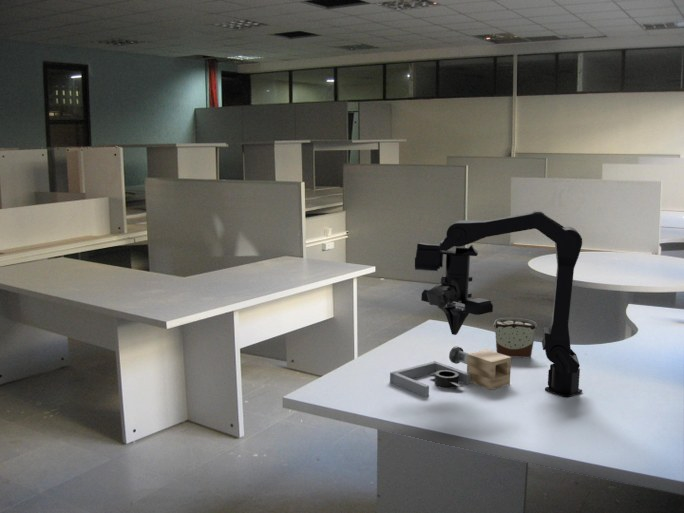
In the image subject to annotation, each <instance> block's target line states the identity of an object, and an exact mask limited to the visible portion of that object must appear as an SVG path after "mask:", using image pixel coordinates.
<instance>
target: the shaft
mask: <svg viewBox="0 0 684 513" xmlns="http://www.w3.org/2000/svg"><path fill="white" fill-rule="evenodd" d="M463 349H464V348H462V347H460V346H458V345H457V346H453V347H452V348H451V349H450V350H449V356H448V358H449V360H450V362H451V363H453V364H454V365H455V364H457V365H458V364H460V363H462V364H464V365H467V356H468V354H470V353H468V352H466V351H464V350H463Z"/></svg>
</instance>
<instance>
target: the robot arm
mask: <svg viewBox="0 0 684 513" xmlns="http://www.w3.org/2000/svg"><path fill="white" fill-rule="evenodd" d="M529 230H537V231H538V232H540V233H541V234H542V235H544V236H545V237H547V238H548V239H549V240H551V241H552V242H554V246H555V255H556V256H555V257H556V274H555V275H556V277H555V284H554V286H555V287H554V293H553V294H554V295H553V306H552V315H551V316H552V317H551V323H550V325H549V327H546V326H544V327H543V339H542V341H541V347H542V350H543V351H545V356H546V358H547V359H548V361H549V362H551V364H549V369H548V375H547V386H546V387H544V390H545V391H547V392H550V393H551V394H552V393H553V394H555V395H559V396H562V397H565V398H570V397H572V396H574V395H578V394H580V393H581V394H582V393H583V389H580V388H579V387H580V376H581V375H580V373H581V372H580V371H581V368H580V367H581V366H580V362H579V358H578V356H577V353H576V352H575V351H574V350H573V349H572V348H571V337H570V331H569V330H570V329H569V320H570V311H571V301H572V290H573V282H574V272H575V271H574V270H575V267H576V265H577V262H578V259H579V255H580V253H581V250H582V246H583V238H582V236H581V234H580V233H579V231H577V229H575V228H574V227H572V226H563V225H562V224H560V223H558V221H555V220H554V219H553V218H551V217H550V216H548V215H546V214H545V213H544V212H542V210H534V211H531V212H527V213H522V214H516V215H509V216H504V217H499V218H494V219H493V218H492V219H488V220H472V219H471V220H470V219H469V220H465V219H463V220H456V221H453V222H452V223H451V224H450V226H449V227H448V229H447V230H446V236H445V238H444V239H442V240H440V244H438V243H424V242H418V243H417V246H416V252H415V257H414V270H415V271H422V272H423V271H425V272H439V270H440V268H442V269H444V264H445V275H442V276H441V278H440V283H439V284H437V285H435V286H433V287H432V288H426V289H423V290H422V292H421V298H420V299H421V301H422V302H426V303H429V305H430V306H436V307H437V308H438V309H440V310H441V311H442V312H443V313H444V314H445V317H446V320H447V322H448V326H449V329H450V332H451V335H454V336H456V335H458V333H459V332H460V330H461V328H462V327H463V324H464V322H465V321H466V318H467V317H468V316H469V314H471V315H475V316H479V315H484V314H488V313H493V310H494V304H493V301H492V300H490V299H486V298H482V297H476V298H472V293H471V292H469V286H470V284H469V283H470V282H473V276H470V265H471V262H470V261H471V257H477V256H478V255H479V252H478V250H477V249H476V248H475V247H474V245H473V243H475V242H477V241H479V240H482V239H485V238H487V237H495V236H500V235H504V234H505V235H506V234H511V233H517V232H523V231H529ZM469 244H470V245H469ZM467 245H469V246H468V247H464V246H467ZM454 247H455V250H451V249H452V248H454ZM445 255H446V256H445ZM470 298H471V299H470Z"/></svg>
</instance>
